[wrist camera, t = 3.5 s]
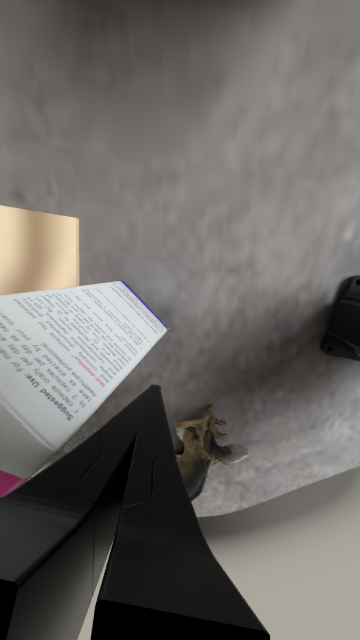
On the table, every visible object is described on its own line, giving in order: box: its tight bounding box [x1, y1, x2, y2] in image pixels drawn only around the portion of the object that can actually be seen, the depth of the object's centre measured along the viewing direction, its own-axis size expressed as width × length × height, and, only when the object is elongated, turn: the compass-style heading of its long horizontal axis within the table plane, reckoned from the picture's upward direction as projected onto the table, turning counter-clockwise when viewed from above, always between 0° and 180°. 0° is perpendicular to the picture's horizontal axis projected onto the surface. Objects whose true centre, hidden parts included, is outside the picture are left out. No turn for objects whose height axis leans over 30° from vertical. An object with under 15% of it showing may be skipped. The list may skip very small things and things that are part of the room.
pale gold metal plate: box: [0, 206, 79, 295], centre depth 17 cm, size 9×14×1 cm, turn 171°
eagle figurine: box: [175, 405, 248, 502], centre depth 17 cm, size 8×7×9 cm
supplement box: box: [0, 281, 169, 498], centre depth 11 cm, size 6×6×12 cm
